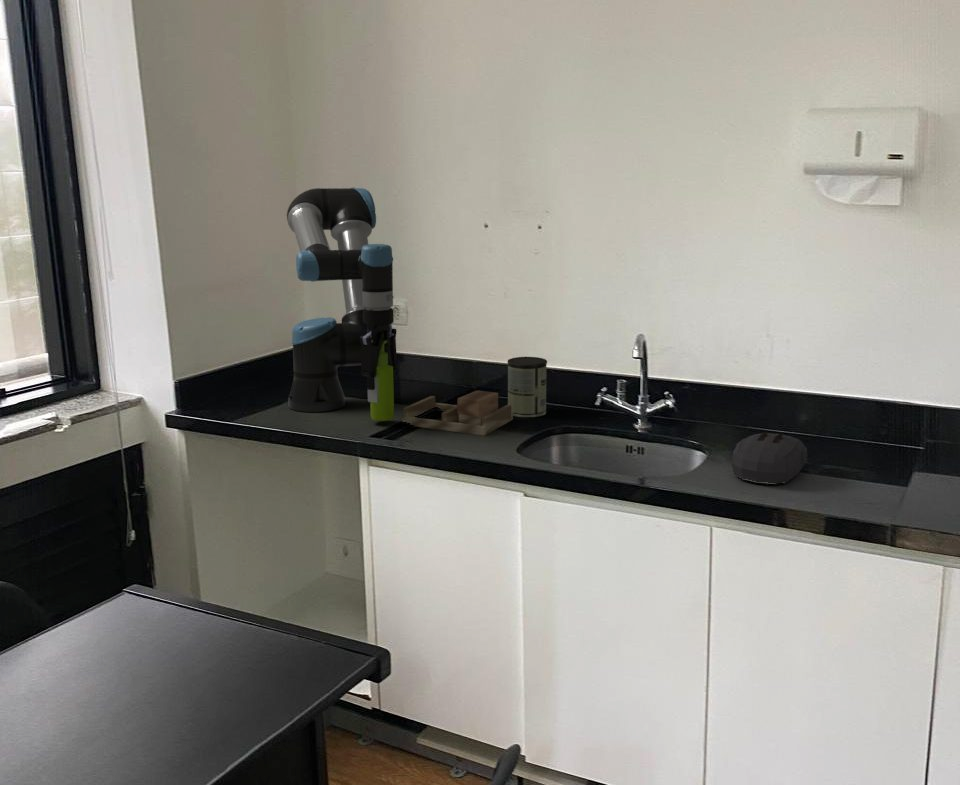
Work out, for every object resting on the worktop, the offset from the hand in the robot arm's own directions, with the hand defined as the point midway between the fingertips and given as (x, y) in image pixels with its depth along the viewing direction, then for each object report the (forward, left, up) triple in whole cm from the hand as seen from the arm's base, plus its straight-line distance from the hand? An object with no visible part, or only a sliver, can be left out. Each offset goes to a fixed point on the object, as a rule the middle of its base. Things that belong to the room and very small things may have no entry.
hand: (380, 398), depth 256 cm
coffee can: (+29, +26, -7) cm, 40 cm away
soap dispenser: (0, 0, -5) cm, 5 cm away
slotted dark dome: (+96, +1, -7) cm, 96 cm away
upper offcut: (+23, +9, -3) cm, 25 cm away
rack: (+17, +9, -6) cm, 20 cm away
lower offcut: (+23, +9, -7) cm, 26 cm away
